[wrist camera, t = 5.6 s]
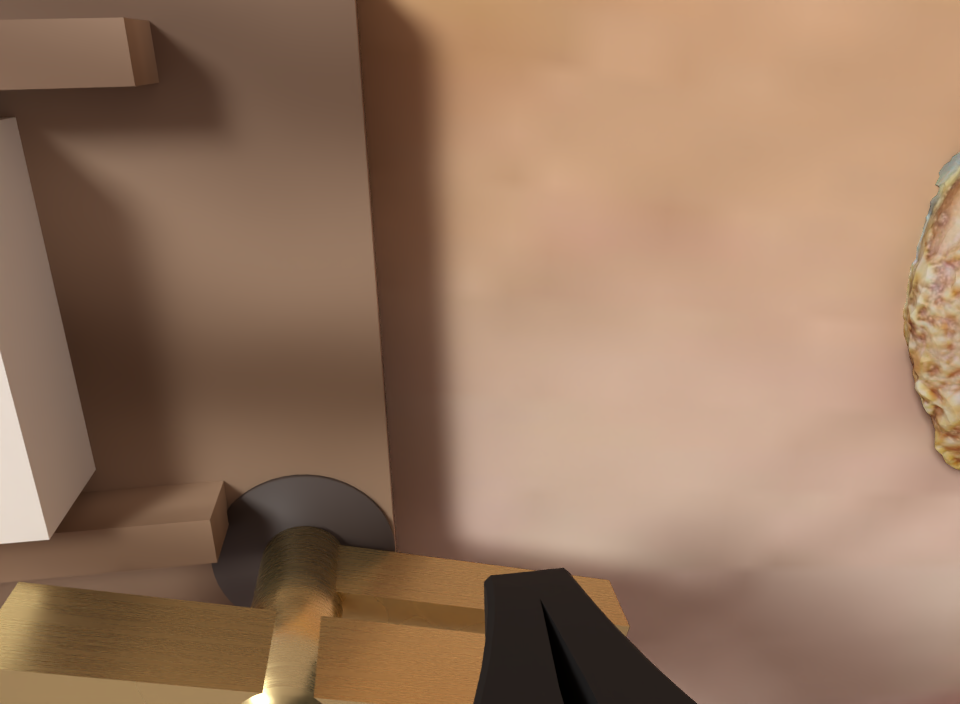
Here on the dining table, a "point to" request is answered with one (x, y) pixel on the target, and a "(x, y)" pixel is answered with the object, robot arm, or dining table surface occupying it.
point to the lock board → (204, 283)
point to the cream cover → (33, 370)
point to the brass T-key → (266, 634)
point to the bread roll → (938, 314)
